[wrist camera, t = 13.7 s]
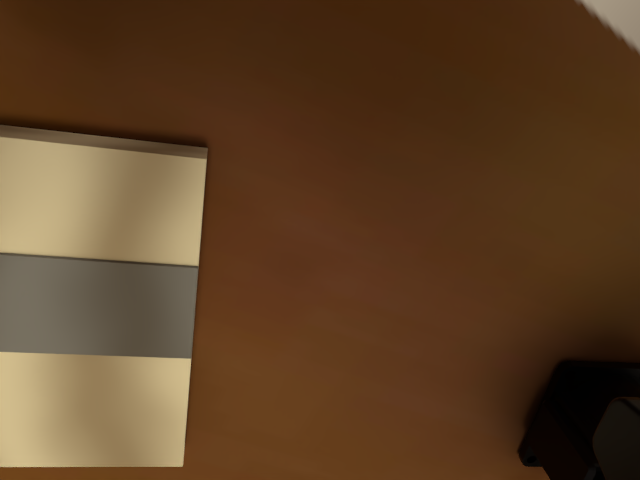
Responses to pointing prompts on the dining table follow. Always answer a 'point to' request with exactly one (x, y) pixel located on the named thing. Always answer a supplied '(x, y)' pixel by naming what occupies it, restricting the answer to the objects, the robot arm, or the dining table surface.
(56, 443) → the subfloor board
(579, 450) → the robot arm
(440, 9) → the dining table surface
